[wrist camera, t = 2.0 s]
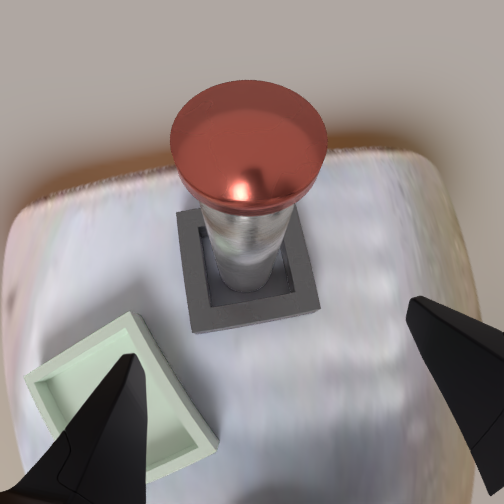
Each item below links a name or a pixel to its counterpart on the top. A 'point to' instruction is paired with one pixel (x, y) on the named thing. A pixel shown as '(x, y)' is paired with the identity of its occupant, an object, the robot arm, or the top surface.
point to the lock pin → (247, 170)
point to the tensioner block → (248, 312)
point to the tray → (157, 390)
